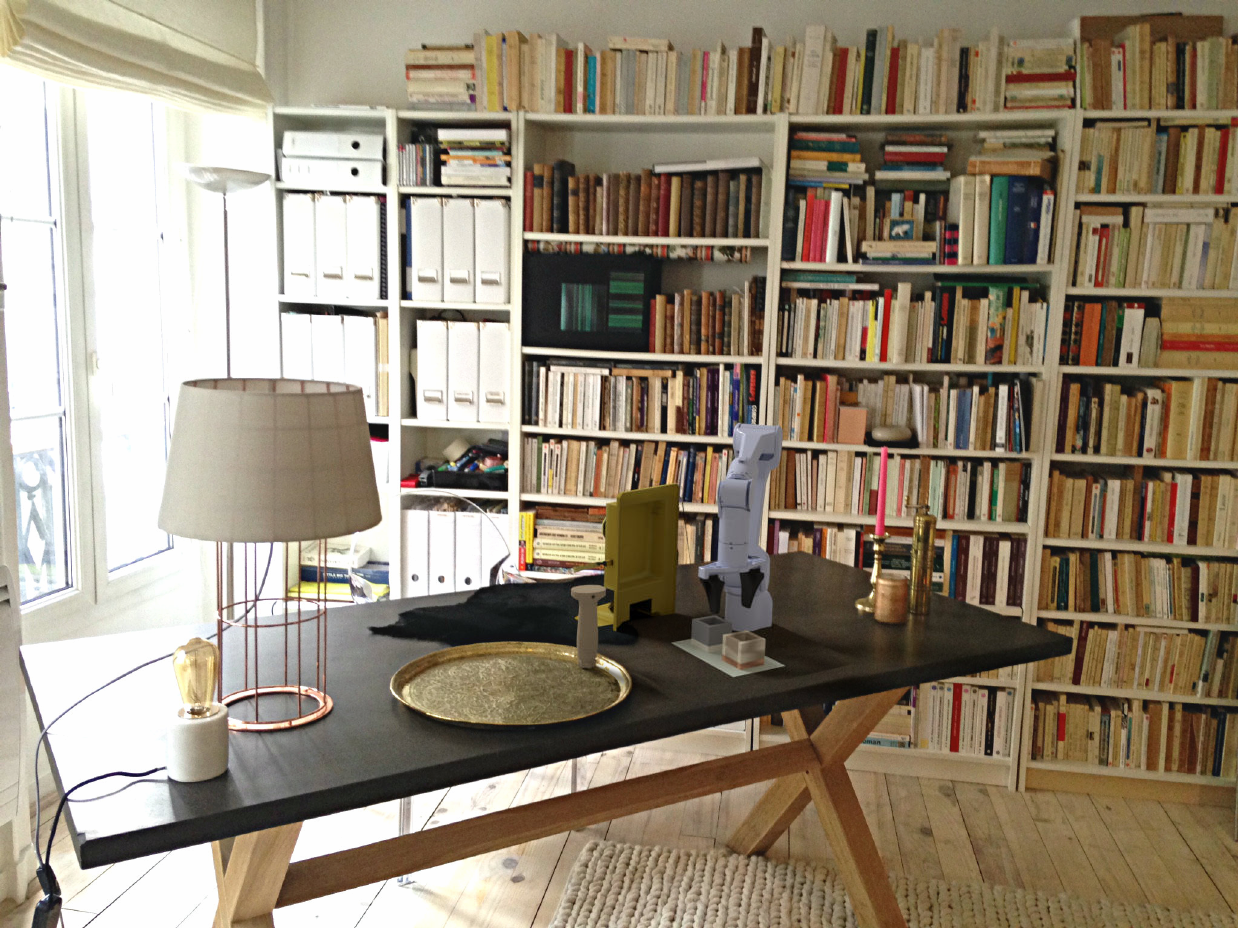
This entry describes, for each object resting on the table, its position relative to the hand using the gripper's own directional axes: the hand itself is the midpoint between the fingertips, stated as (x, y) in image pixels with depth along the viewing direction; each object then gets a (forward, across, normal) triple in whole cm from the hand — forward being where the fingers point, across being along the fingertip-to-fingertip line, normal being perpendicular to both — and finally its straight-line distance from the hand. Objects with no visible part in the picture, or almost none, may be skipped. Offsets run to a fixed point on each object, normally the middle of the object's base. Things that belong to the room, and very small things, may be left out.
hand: (730, 609), depth 195 cm
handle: (+10, -27, +8) cm, 30 cm away
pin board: (+9, -2, -2) cm, 10 cm away
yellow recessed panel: (+10, -6, +28) cm, 30 cm away
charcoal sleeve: (+8, -2, +3) cm, 9 cm away
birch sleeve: (+8, -2, -7) cm, 11 cm away
